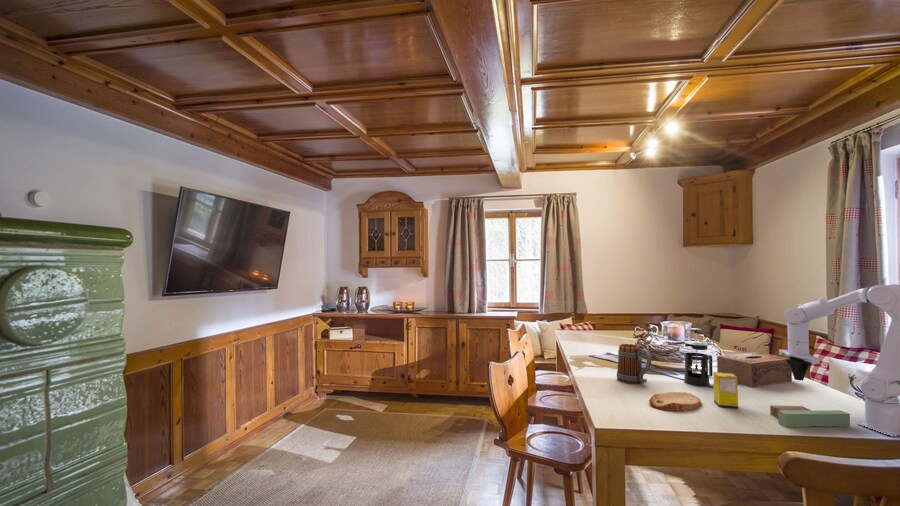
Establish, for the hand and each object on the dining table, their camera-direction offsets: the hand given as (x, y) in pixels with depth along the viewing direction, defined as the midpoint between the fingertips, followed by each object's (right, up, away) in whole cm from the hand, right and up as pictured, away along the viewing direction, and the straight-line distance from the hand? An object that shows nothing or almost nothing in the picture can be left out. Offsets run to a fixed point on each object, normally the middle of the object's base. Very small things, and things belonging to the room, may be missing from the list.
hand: (798, 379), depth 145 cm
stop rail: (-10, -9, -17) cm, 21 cm away
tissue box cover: (+9, -11, +34) cm, 37 cm away
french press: (-19, -10, +28) cm, 35 cm away
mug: (-45, -10, +30) cm, 55 cm away
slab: (-12, -9, -11) cm, 19 cm away
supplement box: (-25, -10, +1) cm, 27 cm away
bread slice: (-42, -10, +3) cm, 44 cm away
